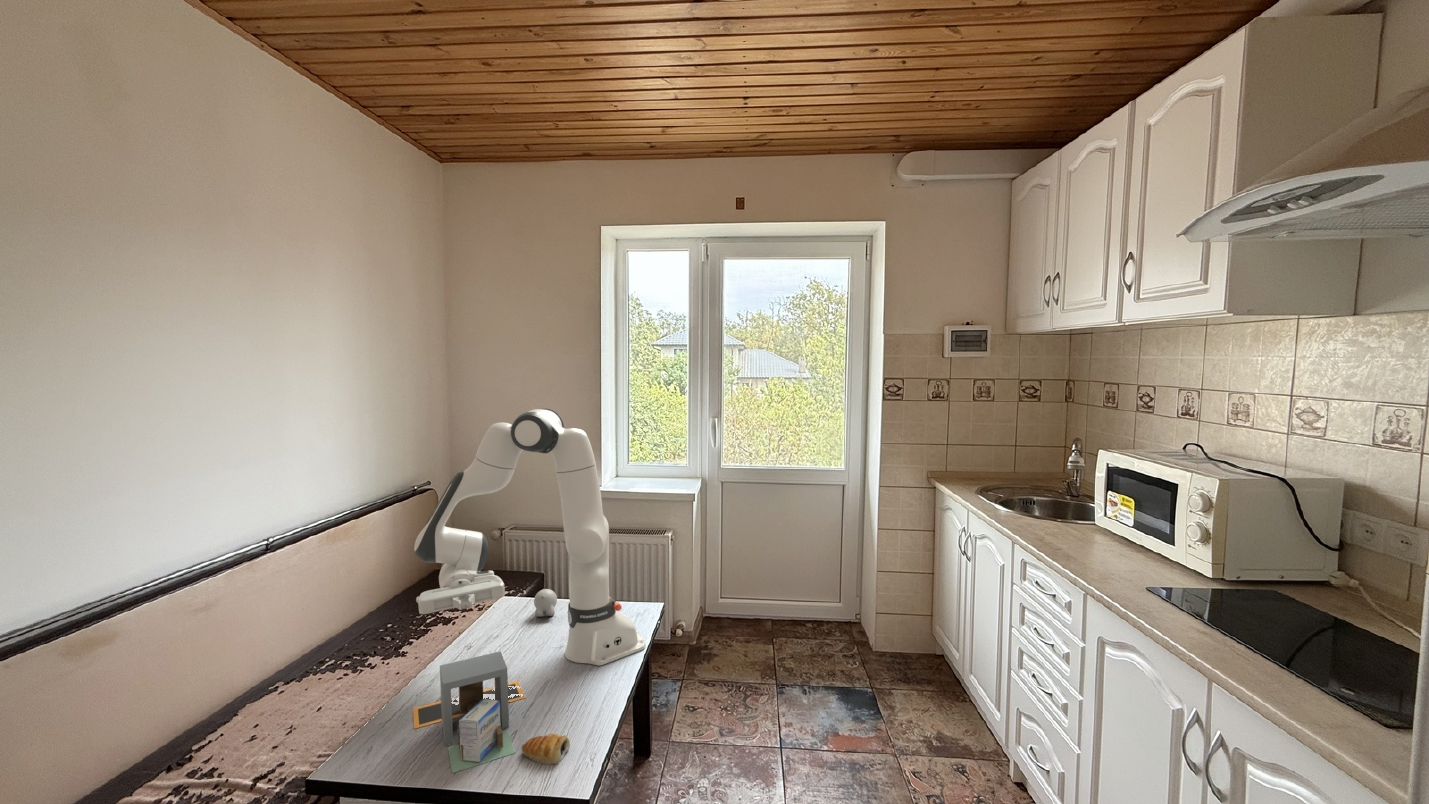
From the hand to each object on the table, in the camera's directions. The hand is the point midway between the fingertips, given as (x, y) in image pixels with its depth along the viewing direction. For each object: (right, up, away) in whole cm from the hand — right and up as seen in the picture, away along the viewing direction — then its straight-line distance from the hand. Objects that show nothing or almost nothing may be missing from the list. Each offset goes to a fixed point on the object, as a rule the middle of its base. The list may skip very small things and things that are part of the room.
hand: (465, 605), depth 141 cm
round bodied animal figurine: (+6, -20, +48) cm, 53 cm away
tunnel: (+7, -23, -12) cm, 27 cm away
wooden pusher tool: (+8, -22, -13) cm, 27 cm away
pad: (+12, -23, -20) cm, 33 cm away
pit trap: (+2, -22, -3) cm, 23 cm away
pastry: (+26, -24, -22) cm, 41 cm away
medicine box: (+12, -23, -20) cm, 33 cm away
